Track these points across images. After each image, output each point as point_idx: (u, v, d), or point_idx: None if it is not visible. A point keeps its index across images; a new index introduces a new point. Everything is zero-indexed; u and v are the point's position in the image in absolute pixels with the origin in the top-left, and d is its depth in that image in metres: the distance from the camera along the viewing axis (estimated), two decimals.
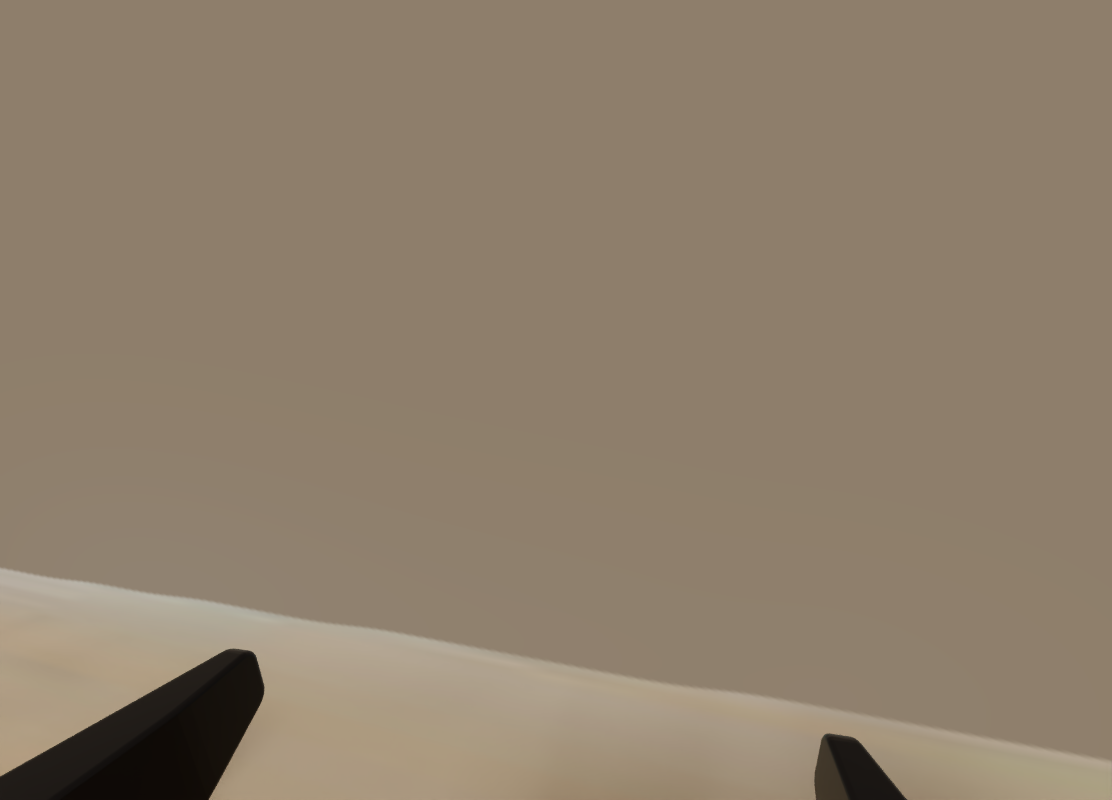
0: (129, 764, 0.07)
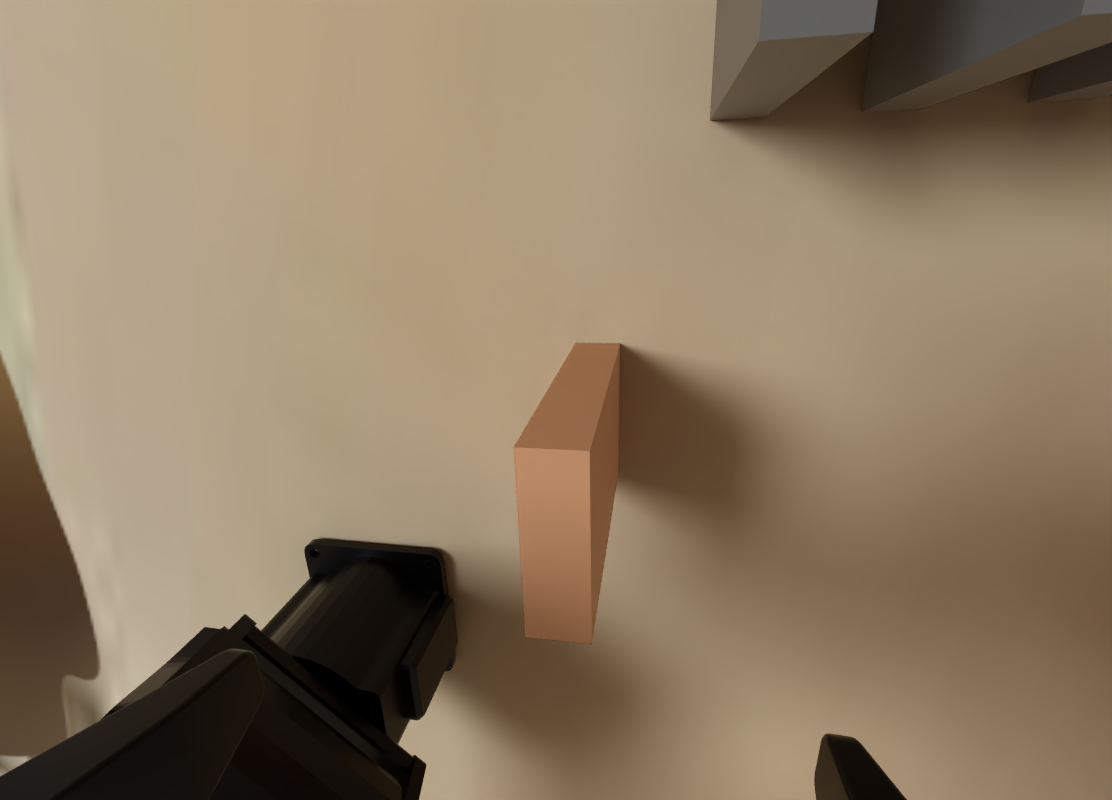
0: (130, 764, 0.07)
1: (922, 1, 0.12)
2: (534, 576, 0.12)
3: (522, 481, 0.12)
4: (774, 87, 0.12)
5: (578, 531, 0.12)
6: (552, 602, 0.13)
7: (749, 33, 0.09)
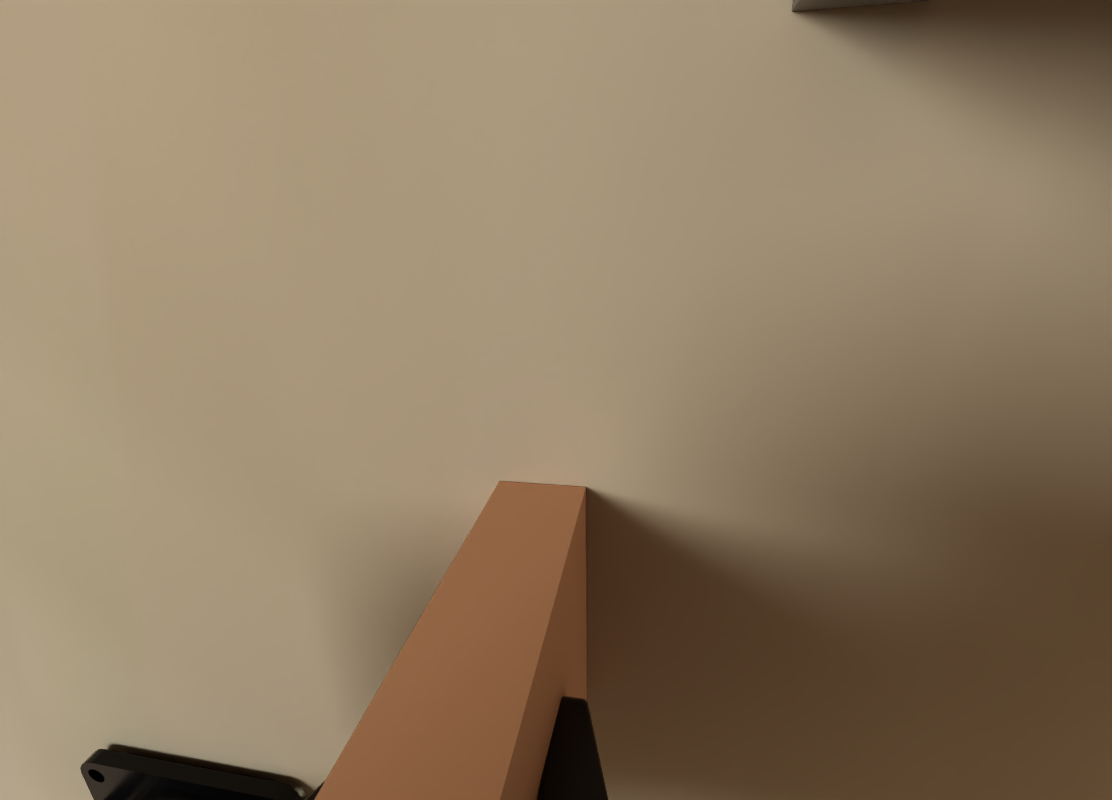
0: None
1: None
2: None
3: None
4: None
5: None
6: None
7: None
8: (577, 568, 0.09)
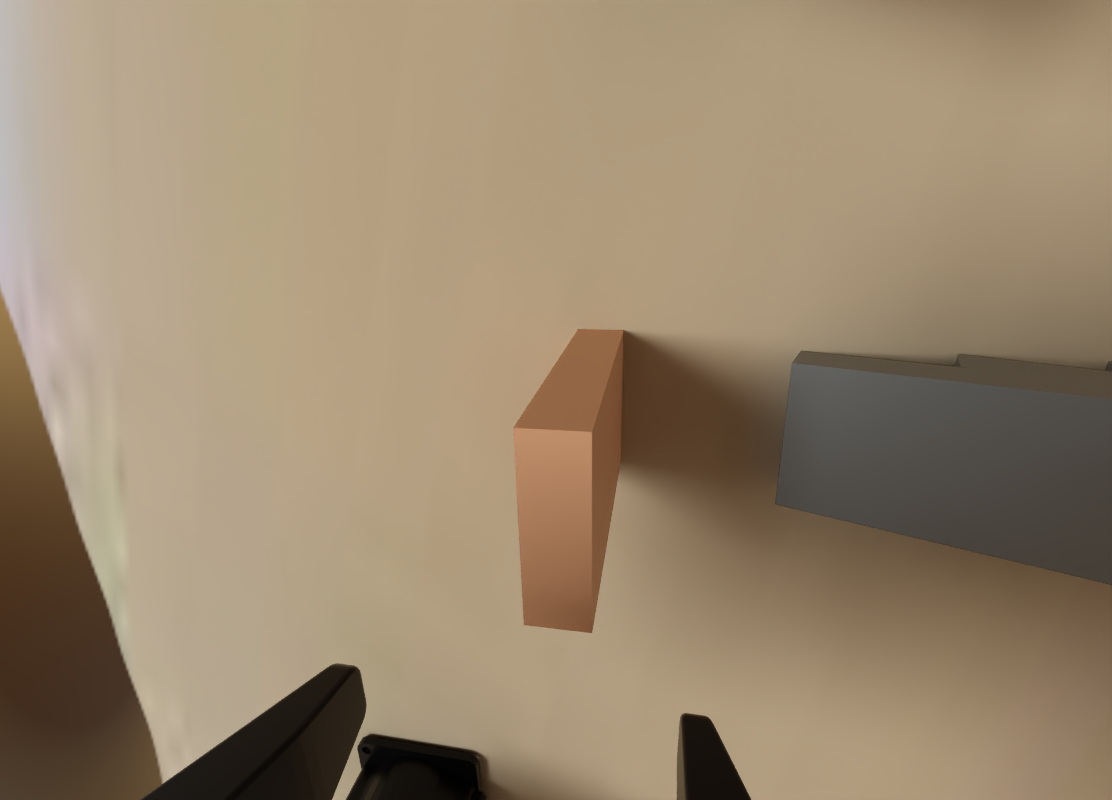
0: (260, 790, 0.07)
1: None
2: (534, 563, 0.12)
3: (522, 463, 0.11)
4: None
5: (579, 515, 0.11)
6: (552, 589, 0.12)
7: (1082, 564, 0.15)
8: (620, 364, 0.18)
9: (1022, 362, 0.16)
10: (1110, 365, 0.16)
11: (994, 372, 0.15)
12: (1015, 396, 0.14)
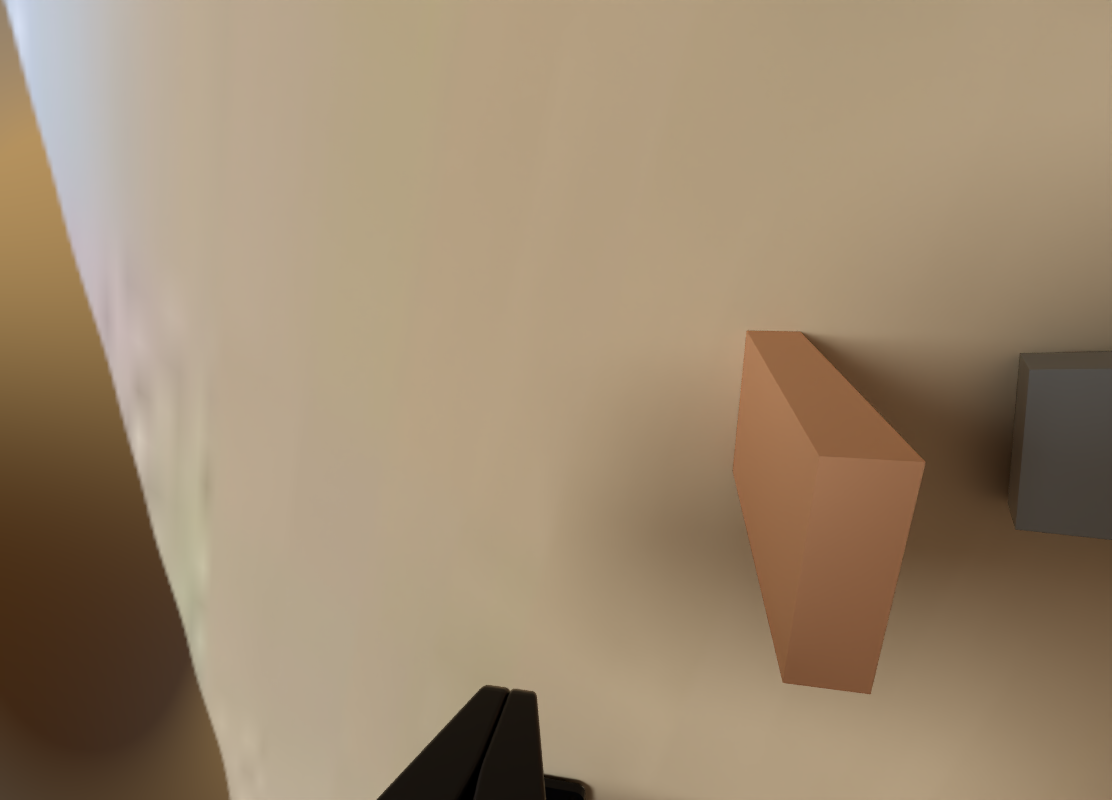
0: None
1: None
2: (812, 613, 0.10)
3: (820, 498, 0.09)
4: None
5: (884, 560, 0.10)
6: (828, 644, 0.10)
7: None
8: None
9: None
10: None
11: None
12: None
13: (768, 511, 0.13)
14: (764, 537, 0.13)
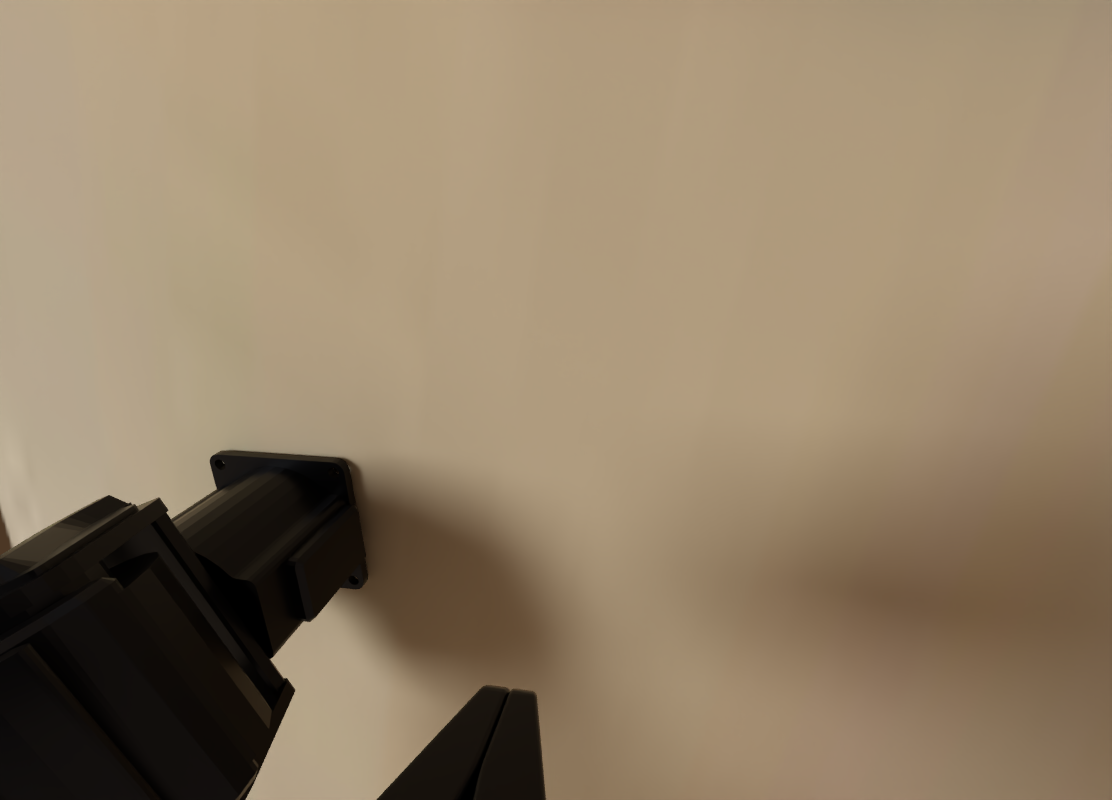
0: None
1: None
2: None
3: None
4: None
5: None
6: None
7: None
8: None
9: None
10: None
11: None
12: None
13: None
14: None
